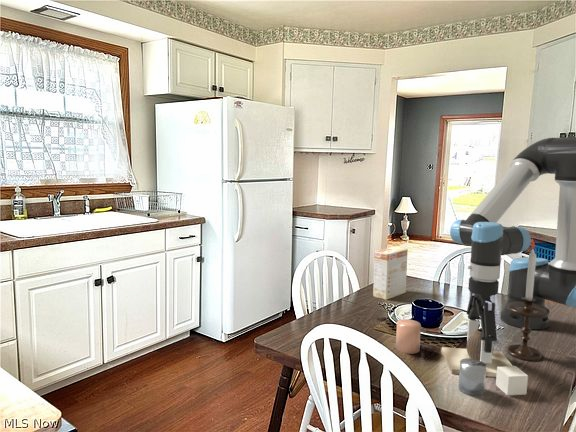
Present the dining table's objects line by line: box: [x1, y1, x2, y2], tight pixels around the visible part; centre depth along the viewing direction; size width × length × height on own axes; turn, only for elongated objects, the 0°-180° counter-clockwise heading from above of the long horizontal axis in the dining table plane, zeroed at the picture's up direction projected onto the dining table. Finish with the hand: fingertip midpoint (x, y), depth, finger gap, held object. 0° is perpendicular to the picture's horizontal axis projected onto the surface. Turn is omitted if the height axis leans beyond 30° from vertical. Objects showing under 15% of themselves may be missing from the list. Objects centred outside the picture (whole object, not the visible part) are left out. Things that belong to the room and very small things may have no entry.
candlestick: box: [506, 237, 550, 362], centre depth 127 cm, size 11×11×35 cm
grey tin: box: [457, 358, 487, 398], centre depth 108 cm, size 6×6×7 cm
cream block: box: [495, 365, 529, 396], centre depth 109 cm, size 5×5×5 cm
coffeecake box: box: [372, 246, 408, 301], centre depth 184 cm, size 15×7×20 cm, turn 133°
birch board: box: [441, 346, 513, 378], centre depth 123 cm, size 17×14×1 cm
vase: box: [466, 328, 494, 361], centre depth 122 cm, size 7×7×9 cm
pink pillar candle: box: [395, 318, 422, 355], centre depth 132 cm, size 7×7×8 cm
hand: (478, 351), depth 122 cm, fingers open, 13 cm apart
